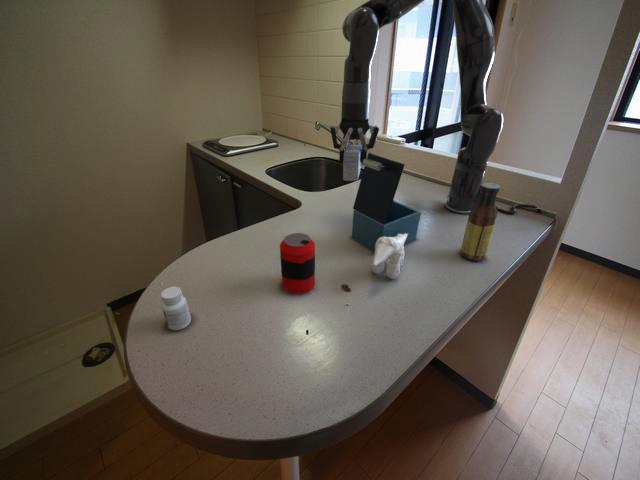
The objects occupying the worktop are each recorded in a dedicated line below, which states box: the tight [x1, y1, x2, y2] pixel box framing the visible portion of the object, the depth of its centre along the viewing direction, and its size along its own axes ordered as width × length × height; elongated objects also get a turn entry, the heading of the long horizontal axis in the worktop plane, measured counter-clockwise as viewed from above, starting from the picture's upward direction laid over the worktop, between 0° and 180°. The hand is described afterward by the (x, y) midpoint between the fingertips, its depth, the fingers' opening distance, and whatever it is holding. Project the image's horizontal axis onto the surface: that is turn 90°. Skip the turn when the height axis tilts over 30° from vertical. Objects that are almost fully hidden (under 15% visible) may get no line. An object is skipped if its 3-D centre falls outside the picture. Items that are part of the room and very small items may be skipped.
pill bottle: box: [160, 286, 192, 331], centre depth 60 cm, size 4×4×8 cm
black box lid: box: [352, 152, 406, 225], centre depth 79 cm, size 15×12×5 cm
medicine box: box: [342, 144, 362, 182], centre depth 94 cm, size 8×4×9 cm, turn 169°
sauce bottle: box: [460, 182, 501, 262], centre depth 80 cm, size 7×6×20 cm
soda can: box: [279, 232, 316, 295], centre depth 70 cm, size 8×8×12 cm
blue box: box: [351, 199, 422, 253], centre depth 90 cm, size 15×12×9 cm
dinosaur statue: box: [371, 233, 408, 280], centre depth 77 cm, size 7×24×11 cm, turn 148°
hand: (352, 162), depth 94 cm, fingers closed on medicine box, 5 cm apart
